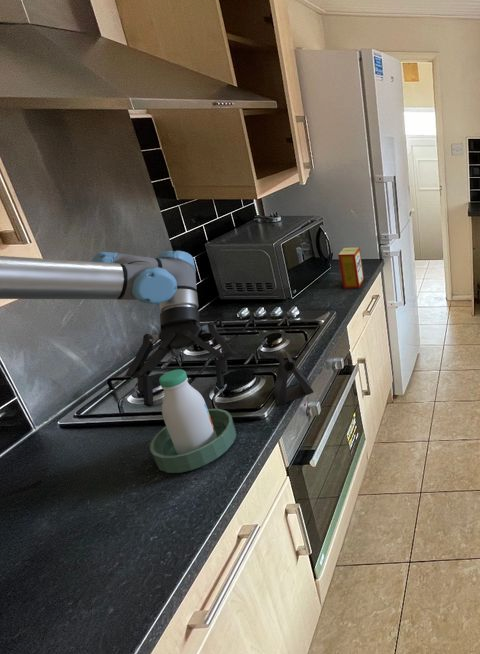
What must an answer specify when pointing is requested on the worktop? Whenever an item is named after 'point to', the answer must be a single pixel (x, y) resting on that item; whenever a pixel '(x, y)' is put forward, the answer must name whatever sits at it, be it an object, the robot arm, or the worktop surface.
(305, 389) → the phone stand
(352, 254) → the baking soda box
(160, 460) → the green jar lid
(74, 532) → the worktop surface
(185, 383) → the milk bottle
